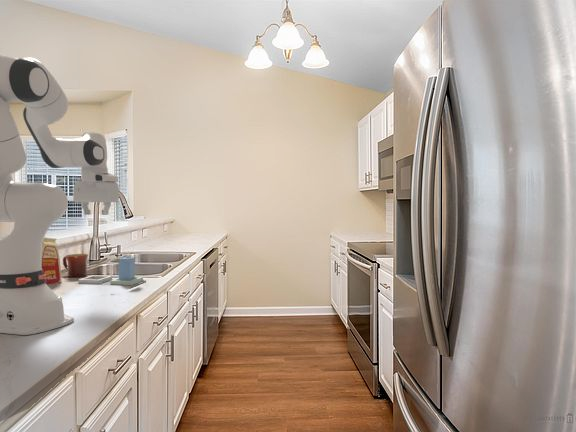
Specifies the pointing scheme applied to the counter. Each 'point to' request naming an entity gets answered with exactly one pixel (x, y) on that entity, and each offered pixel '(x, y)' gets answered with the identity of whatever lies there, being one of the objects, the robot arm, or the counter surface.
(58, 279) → the red sauce bottle
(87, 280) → the panel
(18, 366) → the counter surface
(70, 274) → the mug
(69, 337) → the counter surface
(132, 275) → the light blue block
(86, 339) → the counter surface
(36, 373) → the counter surface
